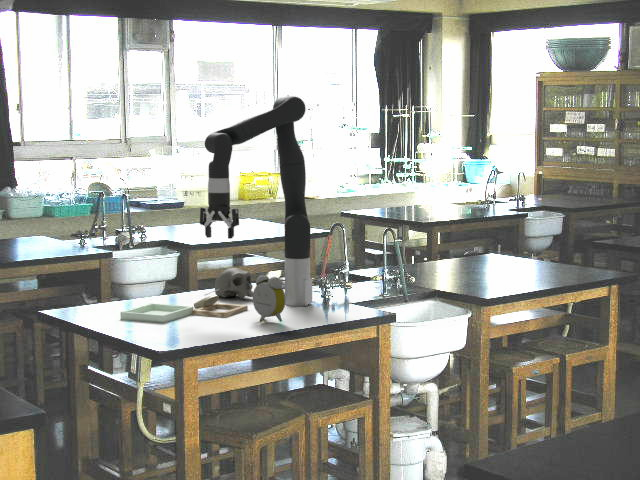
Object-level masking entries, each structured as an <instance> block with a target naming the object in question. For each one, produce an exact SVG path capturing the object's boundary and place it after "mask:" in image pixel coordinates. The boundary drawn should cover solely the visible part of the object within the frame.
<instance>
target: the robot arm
mask: <svg viewBox="0 0 640 480" xmlns="http://www.w3.org/2000/svg"><path fill="white" fill-rule="evenodd" d="M305 114H306V104H305V102H304V100H303V99H301V97H298V96H294V95H293V96H292V95H291V96H283V97H279V98H277V99H276V100H275V101H274V104H273V107H272V109H270V110H268V111H266V112H264V113H259V114H257V115H254V116H251V117H248V118H246V119H243V120H241V121H238V122H237V123H235V124H233V125H232V126H231V125H230V126H229V127H226V128H222V129H219V130H217V131H213V132H212V133H210V134H208V135H207V137H206V138H205V140H204V148H205V149H206V151H207V152H209V153H211V154H213V158H212V159H213V160H212V161H210V162H209V163H208V181H207V197H208V198H207V200H208V201H207V204H208V208H207V207H206V206H205V207H204V206H203V207H200V208H199V210H200V211H199V212H200V214H199V224H200V225H201V226H204V229H205V230H204V232H205V233H204V234H205V237H206V238H208V239H209V238H211V237H212V226H211V225H212V224H213V223H214V222H215V221H219V222H221V221H223V222H224V223H225V224H226V226H227V239H230V240H231V239H233V238H234V237H235V227H238V226H239V225H240V216H239V208H235V207H234V208H231V207H230V205H231V183H230V162H231V158H232V154H233V146H236V145H241V144H244V143H246V142H248V141H249V140H252V139H254V138H255V137H258V136H260V135H262V134H264V133H266V132H268V131H270V130H272V129H274V128H275V133H276V139H277V150H278V161H279V162H278V165H279V175H280V182H281V188H282V192H283V197H284V216H285V217H284V223H283V224H284V225H283V226H284V293H285V298H286V303H285V306H289V307H290V306H291V307H292V306H293V307H303V306H304V307H306V306H309V305H312V304H313V278H312V277H311V223H310V220H309V217H308V213H307V212H308V211H307V206H306V184H307V183H306V179H307V175H306V174H307V173H306V163H305V161H306V160H305V157H304V156H305V155H304V154H303V152H302V149H301V147H300V145H299V143H298V140H297V137H296V134H295V123H296V122H299V121H300V120H301V119H302V118H303V117H304V115H305ZM207 214H209V216H208V215H207ZM230 215H231V216H230ZM207 216H208V217H207ZM231 217H232V218H231ZM311 303H312V304H311ZM308 304H309V305H308Z"/></svg>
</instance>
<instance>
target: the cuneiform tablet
mask: <svg viewBox="0 0 640 480" xmlns="http://www.w3.org/2000/svg"><path fill="white" fill-rule="evenodd" d="M220 289H222V288H220ZM218 290H219V289H218ZM215 291H217V290H215V289H214V290H213V291H211V292H208V293H205V296H207V295H210V294H212V293H214V292H215ZM219 300H220V296H217V295H212V296H207V297H204V298H201V299H200V300H197V301H196V302H194V303H193V309H194V308H195V309H198V308H201V307H205V306H211V305H213V304H215V303H218V301H219Z"/></svg>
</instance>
